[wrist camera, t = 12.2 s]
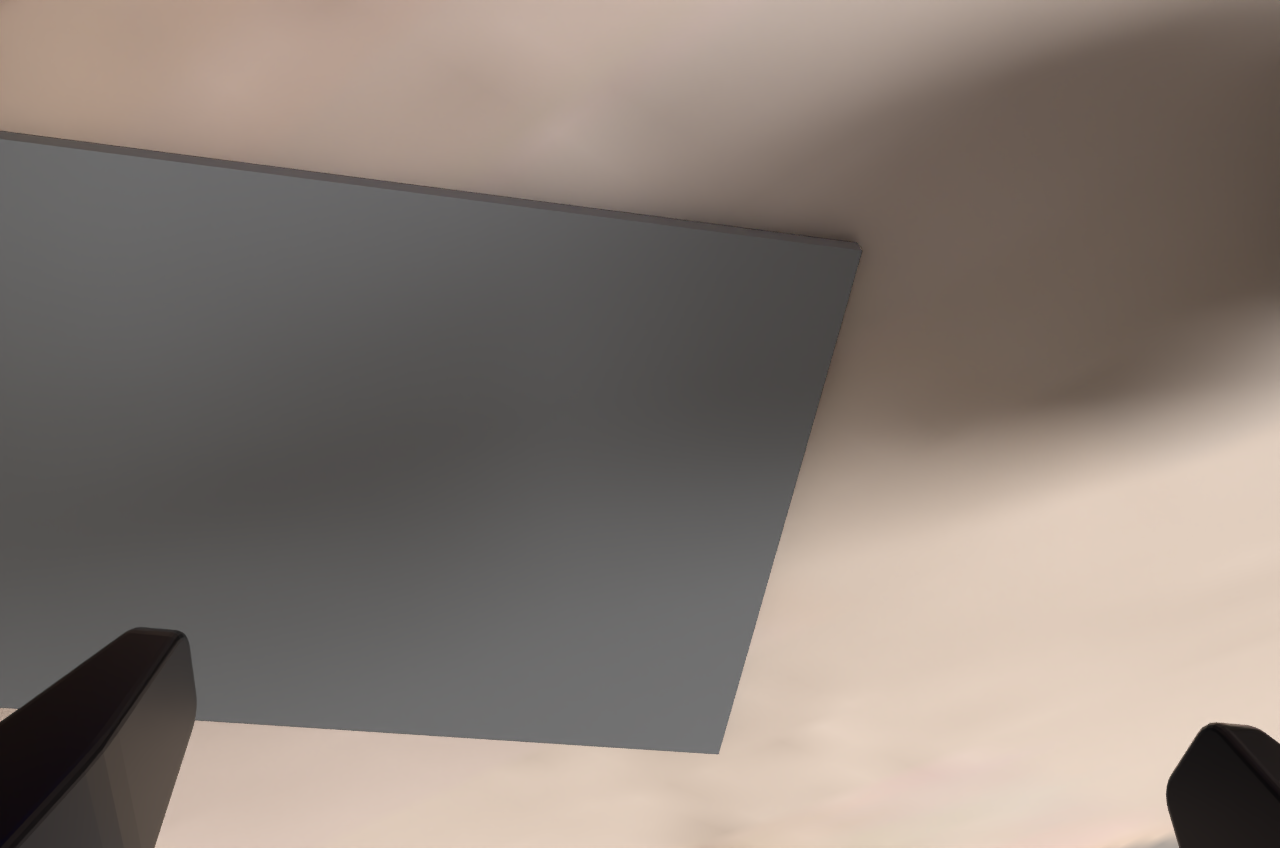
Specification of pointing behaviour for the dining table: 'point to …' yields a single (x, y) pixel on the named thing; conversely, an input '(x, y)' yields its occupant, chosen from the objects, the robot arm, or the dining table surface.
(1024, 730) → the dining table surface
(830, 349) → the rubber mat
